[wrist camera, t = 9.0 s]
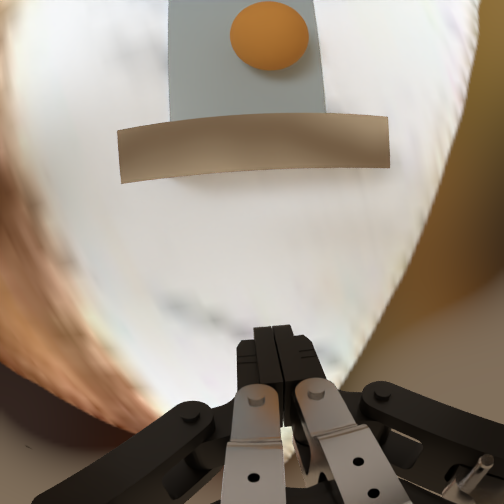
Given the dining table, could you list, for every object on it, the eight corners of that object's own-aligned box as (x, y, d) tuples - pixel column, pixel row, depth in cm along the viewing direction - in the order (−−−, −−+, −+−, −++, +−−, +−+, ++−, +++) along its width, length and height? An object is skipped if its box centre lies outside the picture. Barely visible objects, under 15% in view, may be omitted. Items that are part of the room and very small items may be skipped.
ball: (234, 83, 22) (235, 58, 17) (225, 24, 21) (225, -10, 15) (304, 77, 23) (325, 54, 17) (293, 20, 21) (309, -12, 15)
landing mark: (171, 127, 24) (170, 126, 23) (169, 0, 20) (168, -1, 19) (325, 118, 24) (325, 118, 24) (310, -6, 20) (311, -7, 20)
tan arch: (338, 163, 25) (389, 168, 16) (163, 174, 25) (121, 183, 15) (336, 129, 24) (387, 116, 15) (160, 140, 24) (117, 130, 15)
